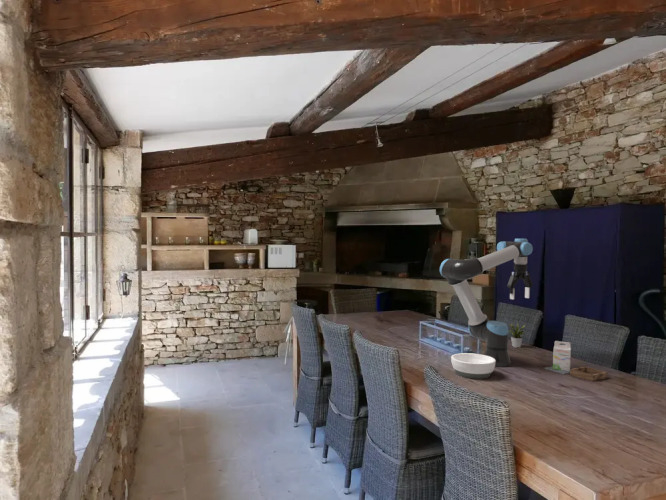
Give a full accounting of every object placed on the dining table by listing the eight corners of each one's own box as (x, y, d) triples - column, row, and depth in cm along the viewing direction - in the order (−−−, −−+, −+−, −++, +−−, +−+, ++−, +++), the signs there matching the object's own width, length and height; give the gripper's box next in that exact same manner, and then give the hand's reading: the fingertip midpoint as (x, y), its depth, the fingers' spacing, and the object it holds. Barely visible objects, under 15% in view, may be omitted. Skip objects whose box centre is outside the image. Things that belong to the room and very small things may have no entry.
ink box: (552, 369, 267) (553, 342, 266) (553, 367, 271) (553, 340, 271) (570, 371, 263) (570, 344, 262) (570, 369, 267) (571, 342, 267)
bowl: (497, 381, 244) (498, 365, 244) (451, 378, 249) (451, 362, 248) (492, 369, 266) (493, 354, 266) (450, 366, 271) (450, 351, 270)
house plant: (501, 347, 320) (501, 322, 320) (504, 343, 333) (505, 319, 332) (524, 350, 314) (525, 324, 313) (527, 345, 326) (527, 321, 325)
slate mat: (564, 374, 259) (564, 373, 259) (544, 368, 269) (544, 367, 269) (578, 371, 265) (578, 370, 265) (558, 366, 275) (558, 365, 275)
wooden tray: (592, 381, 247) (592, 375, 247) (570, 374, 258) (570, 369, 258) (607, 378, 253) (607, 372, 253) (584, 371, 264) (584, 366, 264)
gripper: (511, 264, 289) (510, 300, 289) (539, 263, 301) (538, 298, 302) (501, 263, 295) (500, 298, 296) (529, 263, 308) (528, 296, 308)
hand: (519, 298), depth 299 cm, fingers open, 13 cm apart
